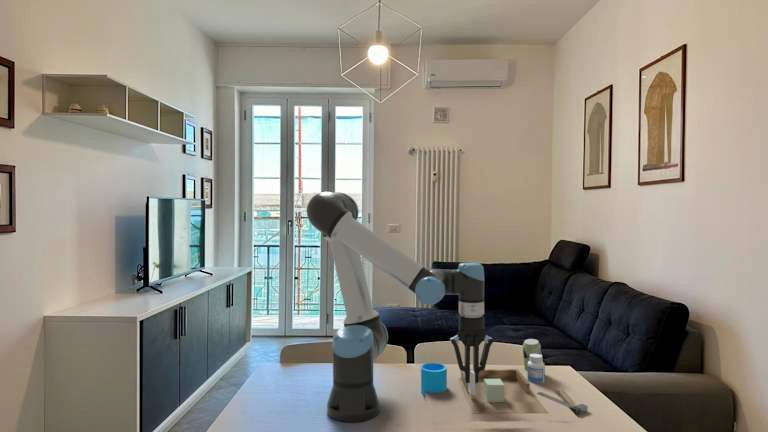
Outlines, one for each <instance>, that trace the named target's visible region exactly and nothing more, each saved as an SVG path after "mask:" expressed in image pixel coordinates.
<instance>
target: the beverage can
mask: <svg viewBox="0 0 768 432" xmlns="http://www.w3.org/2000/svg"><path fill="white" fill-rule="evenodd" d="M522 352H523V353H522V354H523V367H524V370H525V371H526V372H528V361H530V354H540V355H542V346H541V343H540V342H539V340H538V339H535V338H527V339H525V340H523V344H522Z"/></svg>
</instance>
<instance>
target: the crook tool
mask: <svg viewBox="0 0 768 432" xmlns="http://www.w3.org/2000/svg"><path fill="white" fill-rule="evenodd" d="M536 394H537V395H538V396H541V397H543V398H546V399H548V400H551V401H553V402H555V403H558V404H560V405H563V406H564V407H567V408H569V410H570V411H571V412H572V413H573V414H574V415H575V416H579V415H582V414H585V413H588V408H589V407H588V405H587V404H584V403H579V404H576V405H577V406H573V405H571V404H569V403H566V402H564V400H561V399H559V398H557V397H554V396H551V395H549V394H546V393H545V392H542V391H538V392H537V393H536Z"/></svg>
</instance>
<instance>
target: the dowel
mask: <svg viewBox="0 0 768 432" xmlns="http://www.w3.org/2000/svg"><path fill="white" fill-rule="evenodd" d="M557 395H558V397H560V399H562V401H564V402H566V403H569V404H571V405H573V406H577V405H578V404H576V403H575V401H574V400H573V399H572V398H571V397H570V396H569V394H568V393H567V392H566V391H565V390H564V389H558V390H557Z"/></svg>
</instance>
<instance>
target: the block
mask: <svg viewBox="0 0 768 432" xmlns="http://www.w3.org/2000/svg"><path fill="white" fill-rule="evenodd" d="M484 397H485V398H486V400H487V402H504V384H503V382H502V381H501V379H484Z"/></svg>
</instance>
